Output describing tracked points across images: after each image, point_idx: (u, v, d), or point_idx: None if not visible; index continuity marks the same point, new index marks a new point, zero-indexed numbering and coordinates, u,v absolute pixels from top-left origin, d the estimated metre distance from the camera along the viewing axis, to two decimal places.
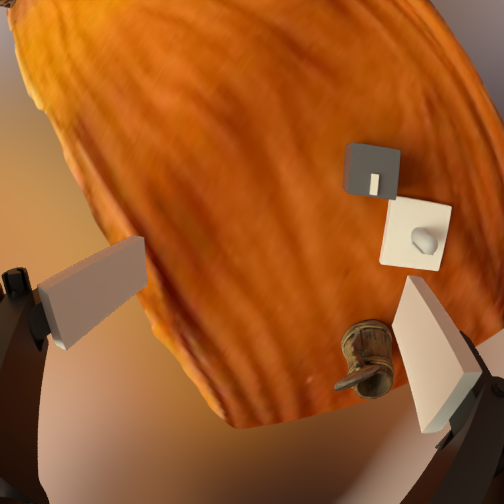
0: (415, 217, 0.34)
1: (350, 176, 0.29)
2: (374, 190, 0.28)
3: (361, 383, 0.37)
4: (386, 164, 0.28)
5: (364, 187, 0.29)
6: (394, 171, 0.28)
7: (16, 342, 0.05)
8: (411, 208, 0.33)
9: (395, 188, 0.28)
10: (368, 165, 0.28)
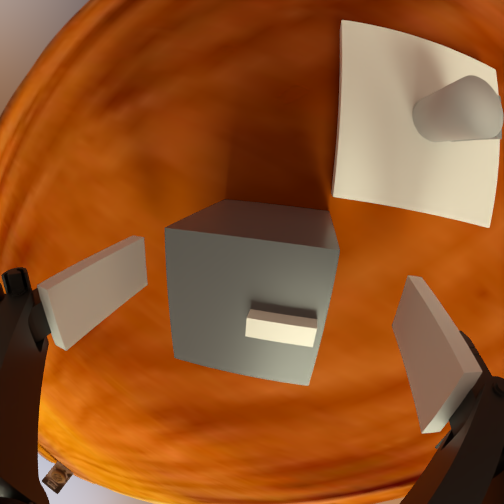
0: (388, 125, 0.11)
1: (261, 375, 0.11)
2: (299, 335, 0.09)
3: None
4: (215, 279, 0.10)
5: (292, 348, 0.10)
6: (234, 253, 0.09)
7: (16, 342, 0.05)
8: (365, 137, 0.12)
9: (294, 250, 0.09)
10: (226, 331, 0.10)
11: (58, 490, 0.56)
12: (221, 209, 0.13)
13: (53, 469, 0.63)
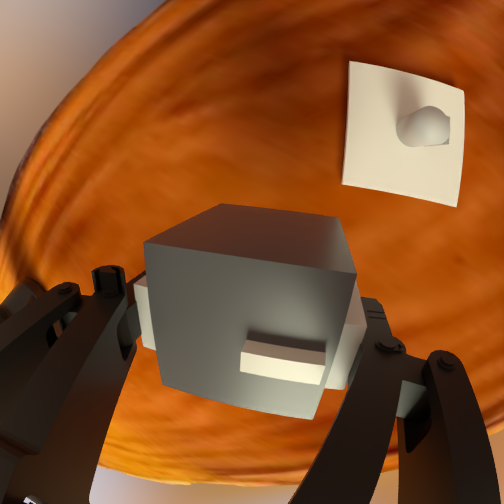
0: (379, 137, 0.18)
1: (259, 408, 0.09)
2: (304, 372, 0.07)
3: None
4: (204, 304, 0.08)
5: (295, 383, 0.08)
6: (226, 275, 0.07)
7: (97, 353, 0.06)
8: (363, 145, 0.18)
9: (299, 274, 0.07)
10: (218, 362, 0.09)
11: None
12: (215, 216, 0.11)
13: None
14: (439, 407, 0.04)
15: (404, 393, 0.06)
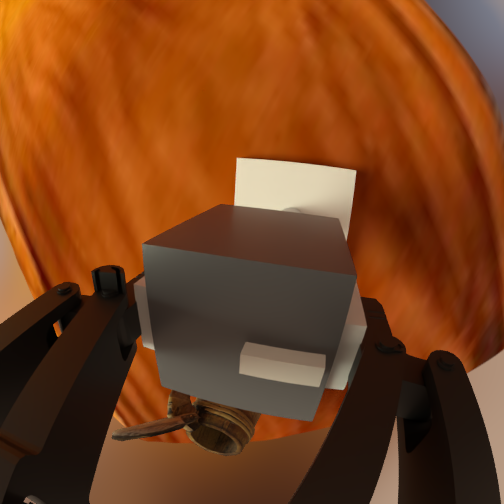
0: (282, 191, 0.23)
1: (258, 410, 0.09)
2: (304, 374, 0.07)
3: (215, 429, 0.26)
4: (203, 306, 0.08)
5: (295, 385, 0.08)
6: (225, 277, 0.07)
7: (98, 353, 0.06)
8: (273, 176, 0.22)
9: (299, 276, 0.07)
10: (217, 364, 0.09)
11: None
12: (214, 217, 0.11)
13: None
14: (439, 407, 0.04)
15: (404, 393, 0.06)
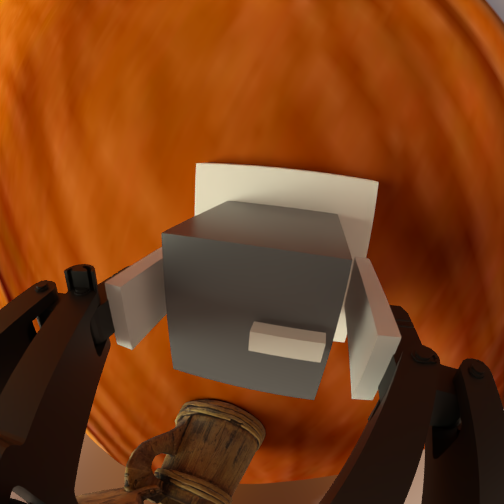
0: None
1: (264, 389, 0.10)
2: (306, 350, 0.08)
3: None
4: (216, 289, 0.09)
5: (298, 362, 0.09)
6: (237, 261, 0.08)
7: (73, 348, 0.06)
8: (249, 190, 0.15)
9: (302, 259, 0.08)
10: (227, 344, 0.10)
11: None
12: (224, 212, 0.12)
13: None
14: (469, 414, 0.04)
15: (437, 402, 0.05)
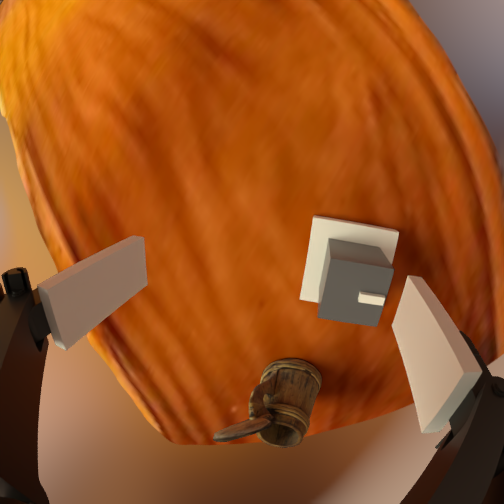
0: None
1: (357, 322, 0.24)
2: (378, 300, 0.23)
3: (273, 427, 0.32)
4: (348, 279, 0.23)
5: (373, 308, 0.23)
6: (358, 269, 0.23)
7: (16, 342, 0.05)
8: (340, 233, 0.29)
9: (379, 269, 0.22)
10: (347, 301, 0.24)
11: None
12: (337, 246, 0.27)
13: None
14: None
15: None
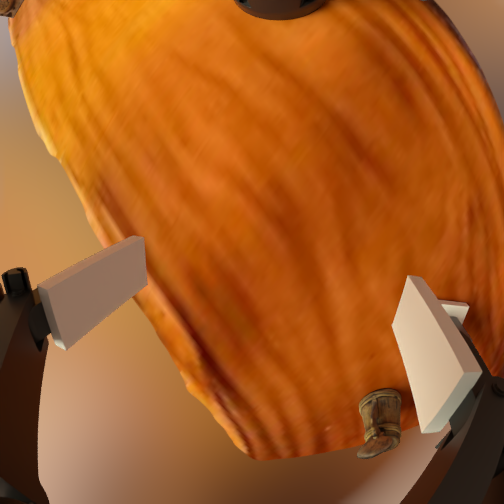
0: None
1: None
2: None
3: None
4: None
5: None
6: None
7: (16, 342, 0.05)
8: None
9: None
10: None
11: None
12: None
13: None
14: None
15: None
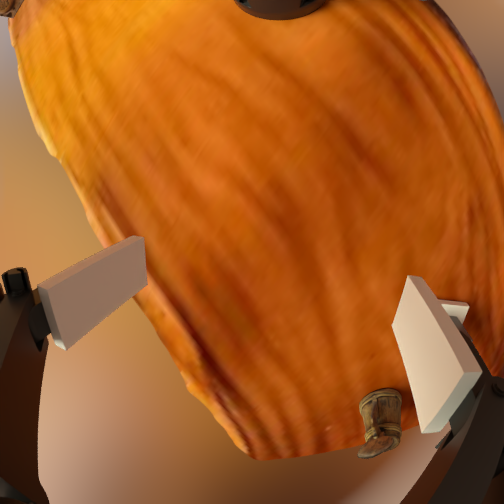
0: None
1: None
2: None
3: None
4: None
5: None
6: None
7: (16, 342, 0.05)
8: None
9: None
10: None
11: None
12: None
13: None
14: None
15: None
